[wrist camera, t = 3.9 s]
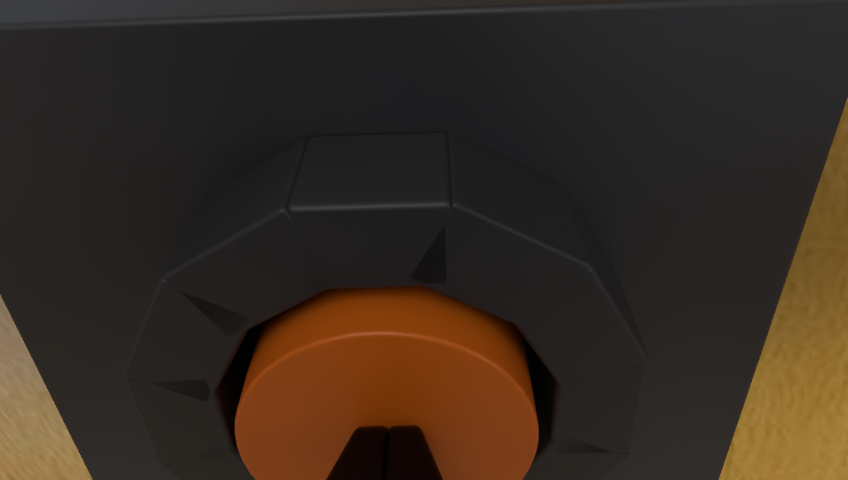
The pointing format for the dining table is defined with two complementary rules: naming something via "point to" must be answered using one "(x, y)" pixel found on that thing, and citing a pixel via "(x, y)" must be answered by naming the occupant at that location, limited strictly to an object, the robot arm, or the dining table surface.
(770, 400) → the dining table surface
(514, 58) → the switch base
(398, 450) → the robot arm
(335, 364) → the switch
